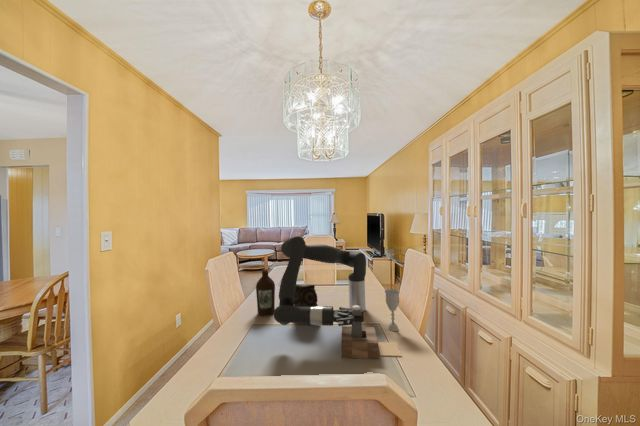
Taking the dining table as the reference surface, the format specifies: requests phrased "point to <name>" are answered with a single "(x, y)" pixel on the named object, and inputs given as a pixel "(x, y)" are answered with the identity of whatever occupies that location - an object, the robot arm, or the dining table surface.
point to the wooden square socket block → (359, 344)
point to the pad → (389, 349)
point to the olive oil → (265, 294)
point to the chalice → (392, 305)
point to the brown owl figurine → (305, 296)
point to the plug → (356, 325)
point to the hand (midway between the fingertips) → (363, 316)
